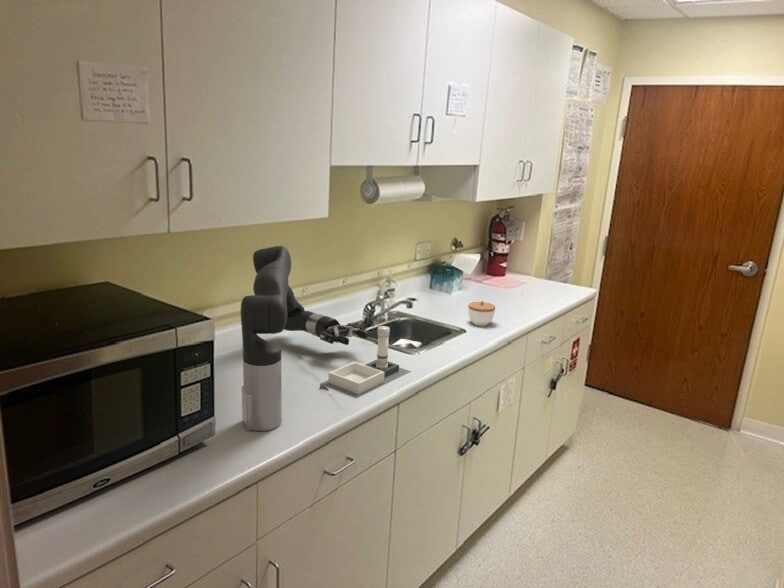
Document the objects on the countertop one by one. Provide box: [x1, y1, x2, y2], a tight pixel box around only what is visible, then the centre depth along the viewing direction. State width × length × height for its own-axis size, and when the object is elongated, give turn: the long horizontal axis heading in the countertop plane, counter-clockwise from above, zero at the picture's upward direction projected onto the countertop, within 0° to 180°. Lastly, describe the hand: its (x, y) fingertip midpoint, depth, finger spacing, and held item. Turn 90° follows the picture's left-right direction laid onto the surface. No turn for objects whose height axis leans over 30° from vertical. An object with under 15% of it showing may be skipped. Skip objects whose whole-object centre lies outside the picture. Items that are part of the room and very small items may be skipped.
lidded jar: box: [467, 300, 496, 327], centre depth 234 cm, size 11×11×9 cm
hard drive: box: [392, 338, 422, 349], centre depth 204 cm, size 2×8×12 cm
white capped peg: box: [376, 325, 391, 370], centre depth 179 cm, size 4×4×14 cm
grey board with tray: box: [319, 359, 412, 399], centre depth 175 cm, size 26×14×4 cm, turn 143°
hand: (357, 338), depth 185 cm, fingers open, 8 cm apart
